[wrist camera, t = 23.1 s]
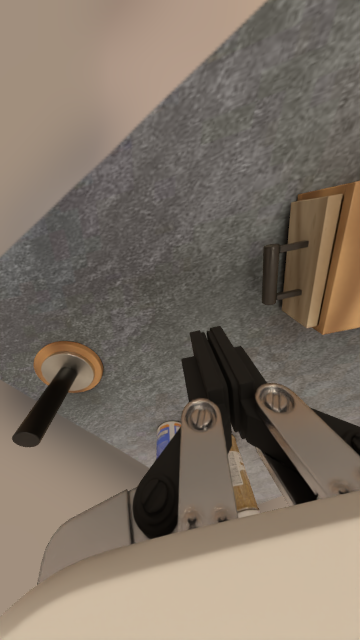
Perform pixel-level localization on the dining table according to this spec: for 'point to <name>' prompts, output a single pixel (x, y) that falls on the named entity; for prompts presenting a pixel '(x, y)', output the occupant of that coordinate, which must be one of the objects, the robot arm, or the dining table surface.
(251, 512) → the sprinkles bottle
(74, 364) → the rod on disc base
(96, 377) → the disc
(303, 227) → the drawer
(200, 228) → the dining table surface
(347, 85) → the dining table surface
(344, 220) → the cabinet
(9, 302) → the dining table surface
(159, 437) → the pill bottle
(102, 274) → the dining table surface
